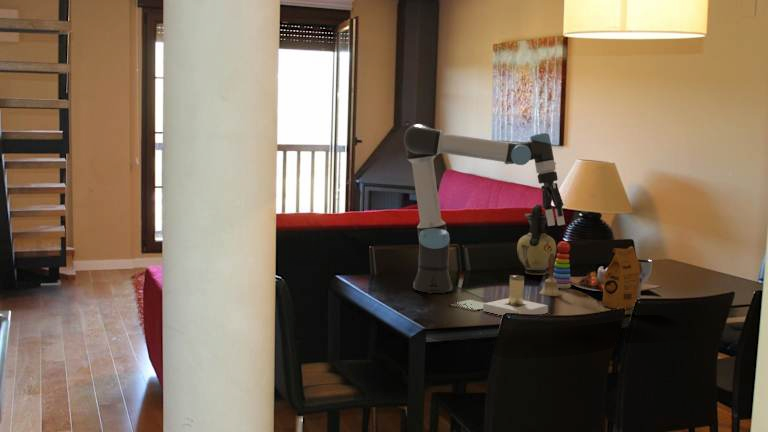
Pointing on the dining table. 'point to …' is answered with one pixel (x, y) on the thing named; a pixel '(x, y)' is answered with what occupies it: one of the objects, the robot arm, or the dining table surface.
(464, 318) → the dining table surface
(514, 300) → the beige cylinder
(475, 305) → the mat
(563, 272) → the stacking toy
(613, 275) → the coffee package
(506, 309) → the housing
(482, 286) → the dining table surface
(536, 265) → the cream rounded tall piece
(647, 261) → the wine glass
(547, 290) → the hand bell
